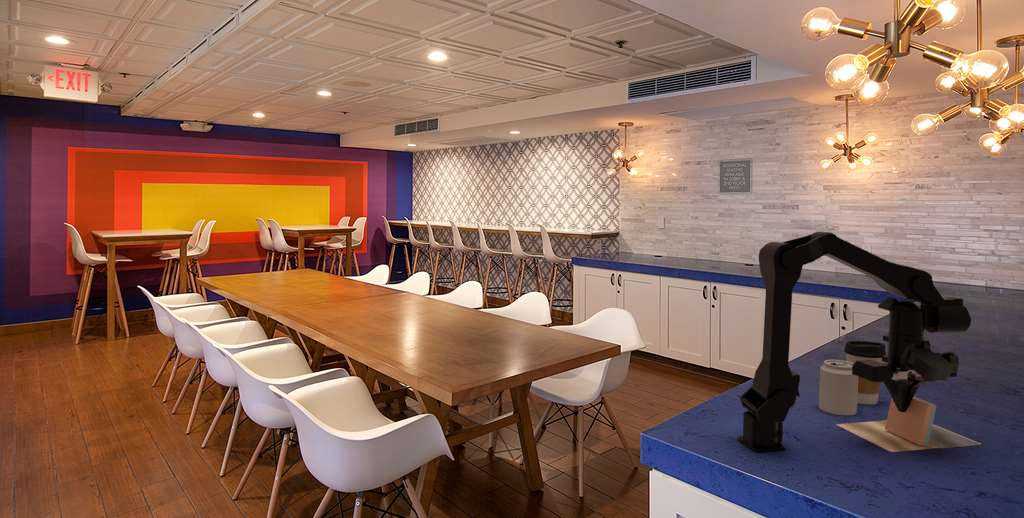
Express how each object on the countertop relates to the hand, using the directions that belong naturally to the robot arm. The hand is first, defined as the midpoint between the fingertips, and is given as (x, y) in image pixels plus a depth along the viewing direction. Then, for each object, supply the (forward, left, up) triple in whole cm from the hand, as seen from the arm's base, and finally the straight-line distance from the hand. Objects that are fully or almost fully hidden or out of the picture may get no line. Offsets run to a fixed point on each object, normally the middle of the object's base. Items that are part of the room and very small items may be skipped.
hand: (901, 411), depth 113 cm
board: (+3, +2, -7) cm, 8 cm away
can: (0, +17, -7) cm, 18 cm away
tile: (+1, 0, -5) cm, 5 cm away
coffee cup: (+11, +22, -7) cm, 25 cm away
